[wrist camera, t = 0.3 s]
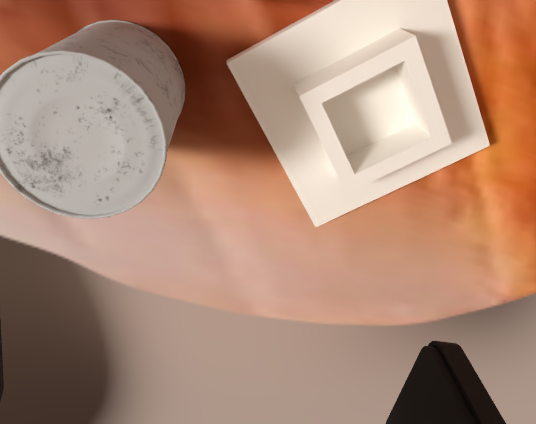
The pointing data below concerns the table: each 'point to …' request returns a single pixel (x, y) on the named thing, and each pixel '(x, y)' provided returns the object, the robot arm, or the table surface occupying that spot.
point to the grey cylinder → (90, 120)
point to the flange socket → (362, 99)
